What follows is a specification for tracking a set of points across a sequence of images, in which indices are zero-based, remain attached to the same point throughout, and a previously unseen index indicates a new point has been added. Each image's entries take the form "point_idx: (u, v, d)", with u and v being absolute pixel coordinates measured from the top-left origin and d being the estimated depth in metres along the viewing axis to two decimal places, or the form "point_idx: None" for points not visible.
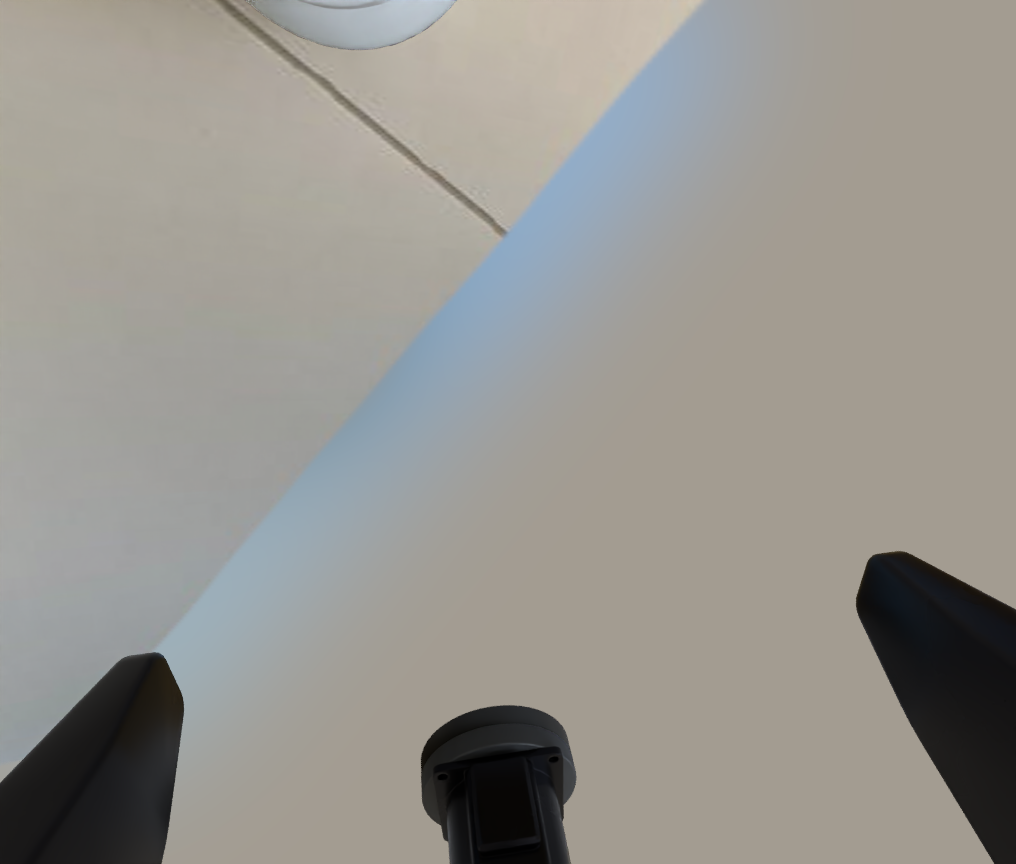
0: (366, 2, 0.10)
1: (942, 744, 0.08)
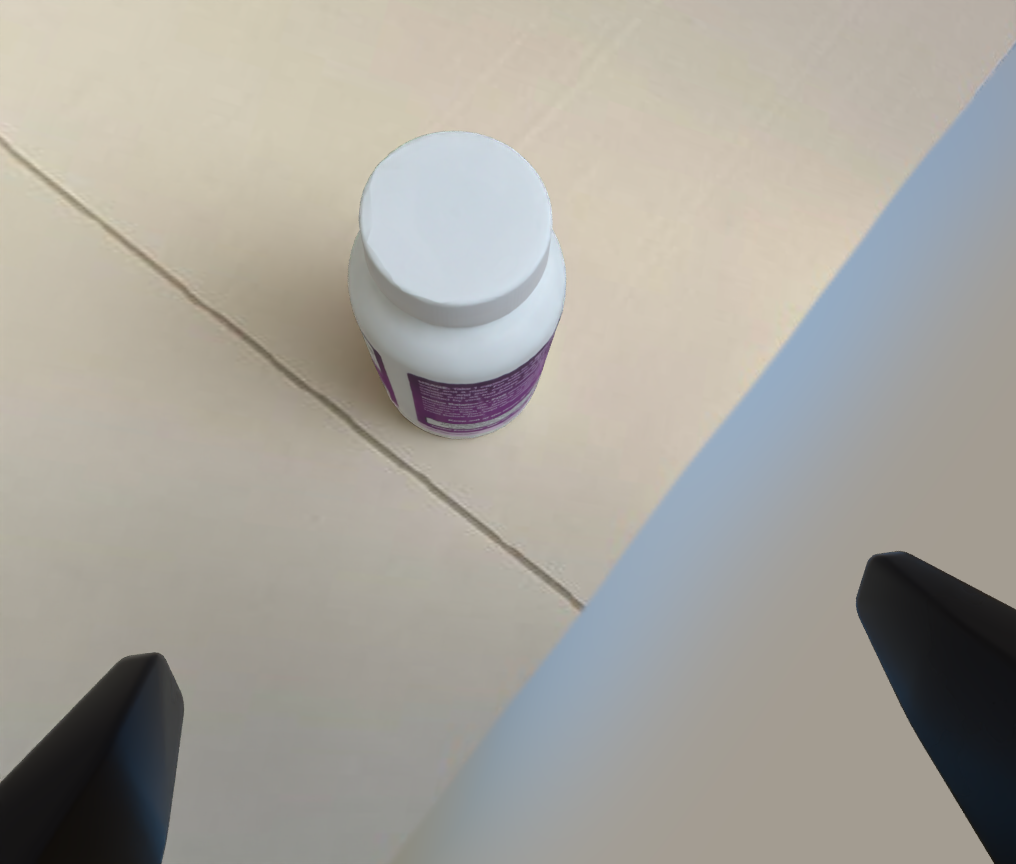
0: (478, 302, 0.14)
1: (942, 744, 0.08)
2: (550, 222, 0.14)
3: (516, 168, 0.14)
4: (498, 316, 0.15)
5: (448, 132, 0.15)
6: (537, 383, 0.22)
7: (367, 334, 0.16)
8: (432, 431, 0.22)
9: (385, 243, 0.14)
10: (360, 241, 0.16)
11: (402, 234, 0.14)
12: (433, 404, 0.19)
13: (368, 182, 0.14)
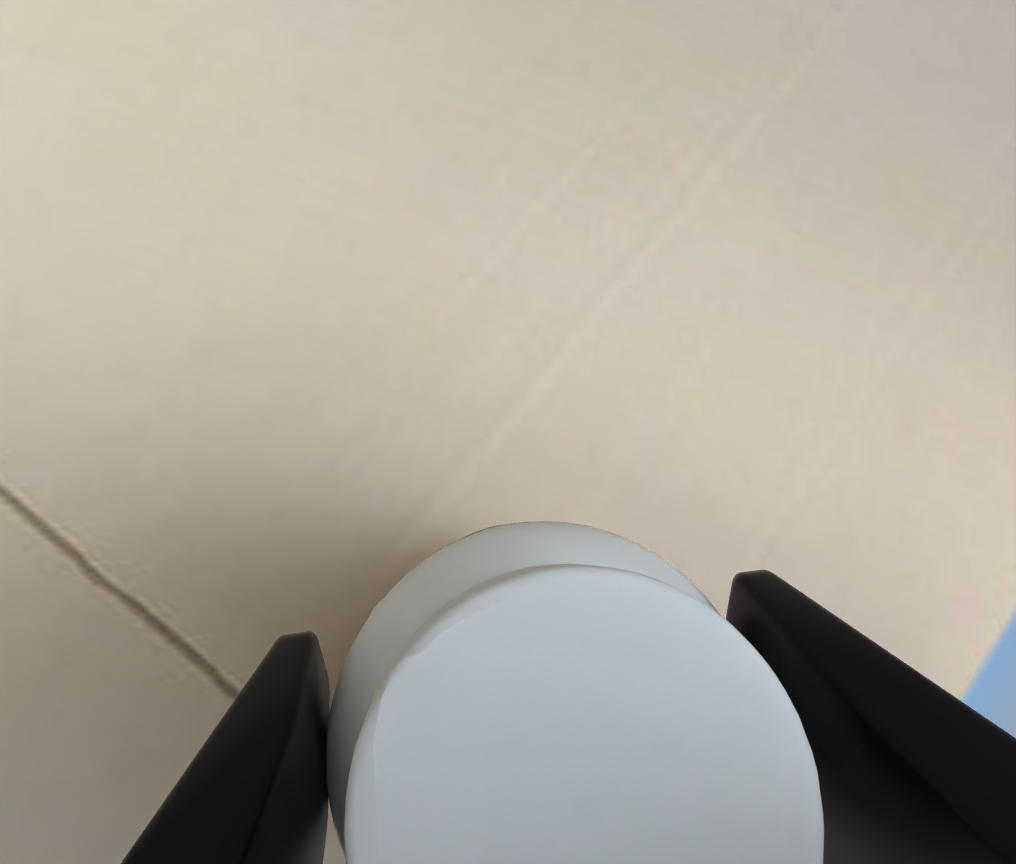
0: None
1: None
2: (822, 827, 0.06)
3: (729, 673, 0.06)
4: None
5: (561, 576, 0.06)
6: None
7: None
8: None
9: None
10: (351, 707, 0.08)
11: None
12: None
13: (368, 726, 0.06)
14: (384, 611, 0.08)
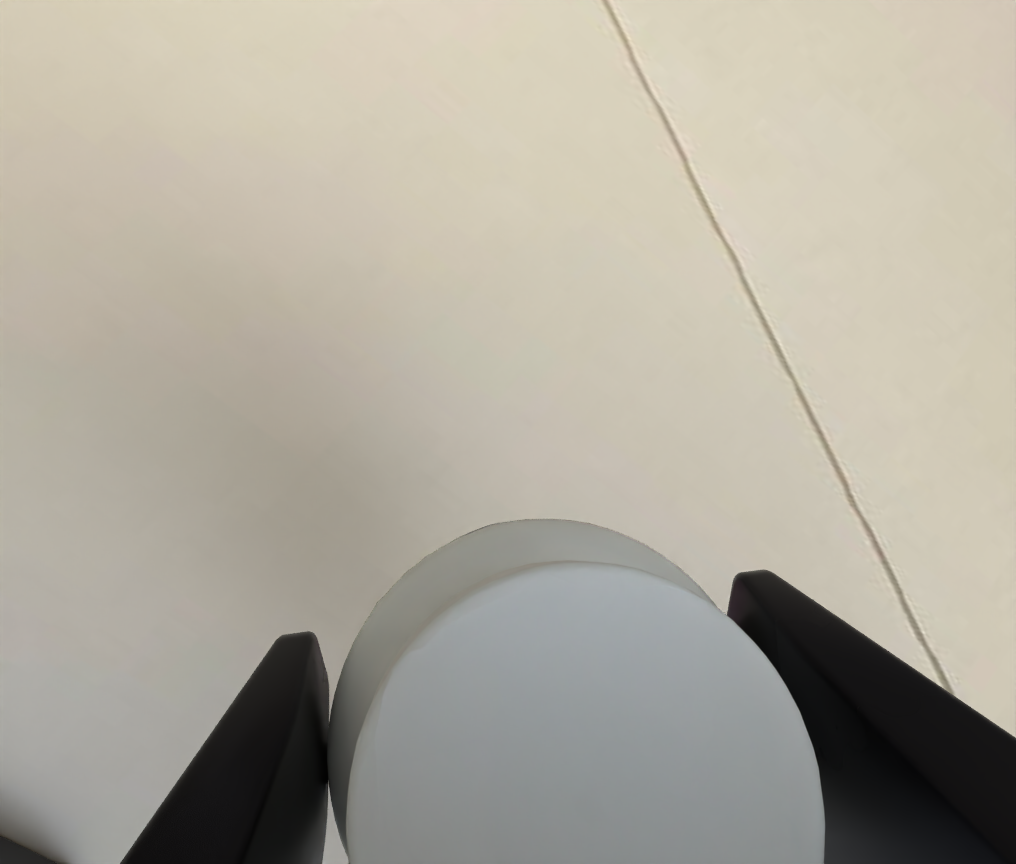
0: None
1: None
2: (823, 822, 0.06)
3: (730, 669, 0.06)
4: None
5: (562, 572, 0.06)
6: None
7: None
8: None
9: None
10: (352, 704, 0.08)
11: None
12: None
13: (370, 721, 0.06)
14: (386, 607, 0.08)
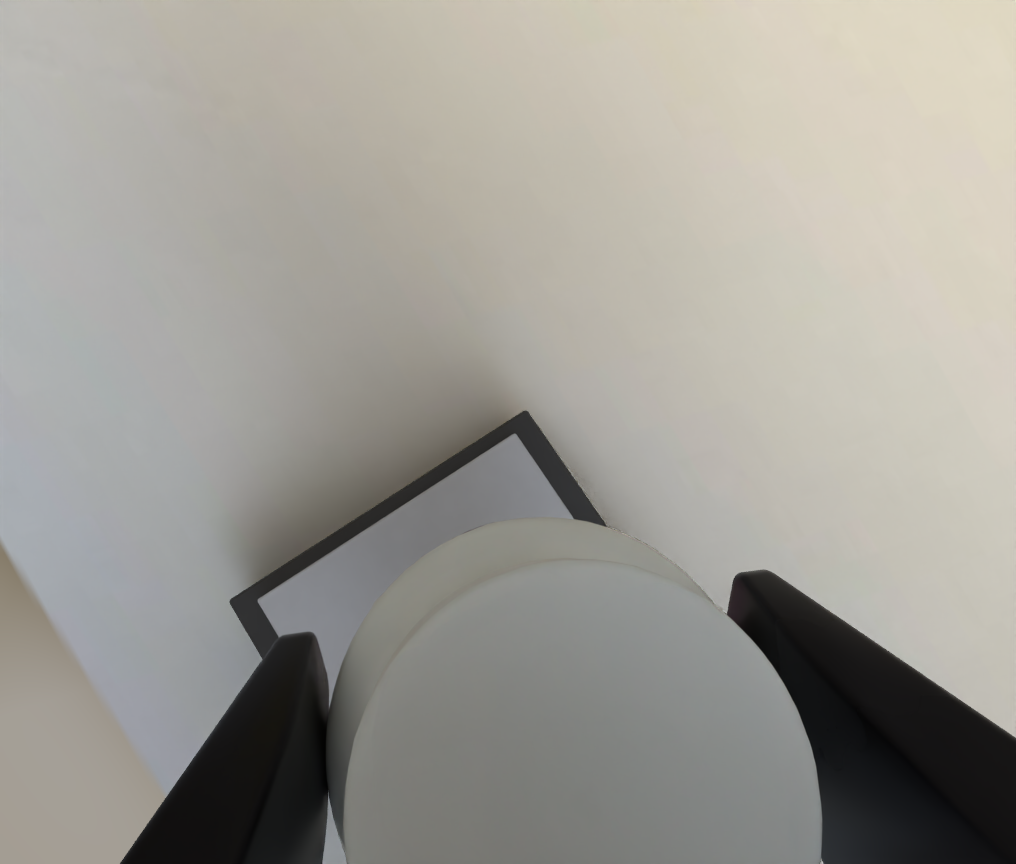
0: None
1: None
2: (820, 819, 0.06)
3: (727, 665, 0.06)
4: None
5: (560, 569, 0.06)
6: None
7: None
8: None
9: None
10: (350, 702, 0.08)
11: None
12: None
13: (367, 719, 0.06)
14: (384, 606, 0.08)
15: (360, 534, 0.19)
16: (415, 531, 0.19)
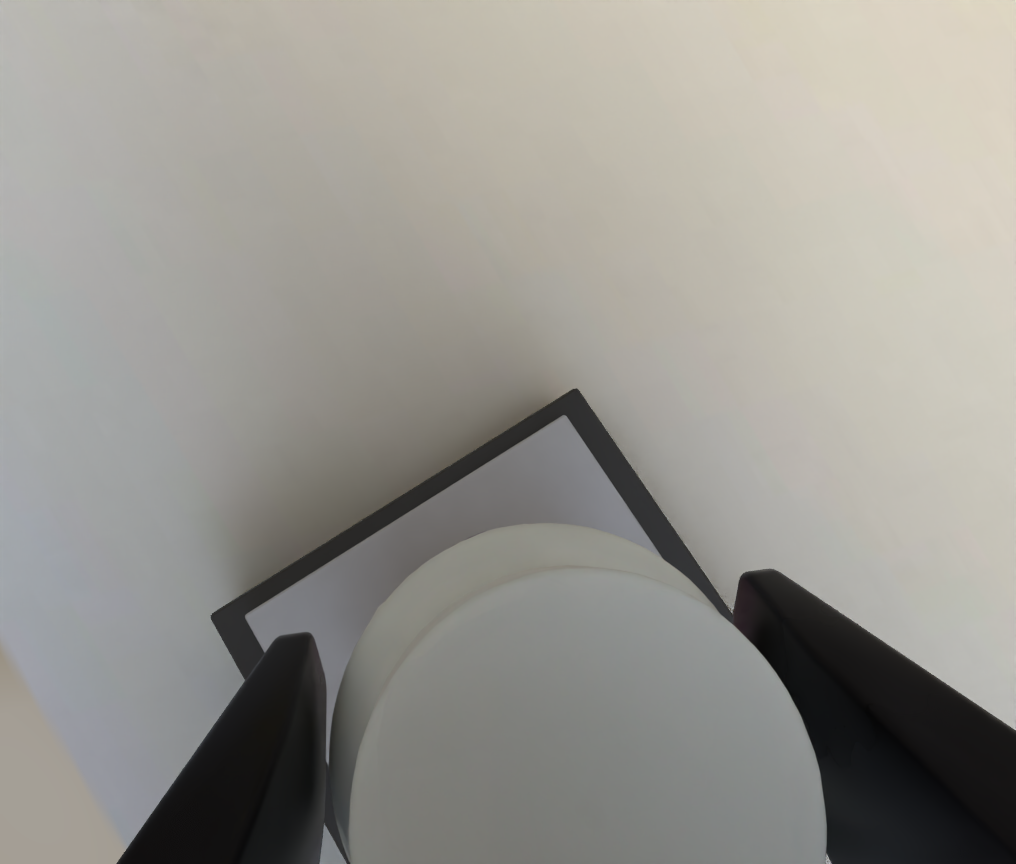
0: None
1: None
2: (825, 826, 0.06)
3: (730, 673, 0.06)
4: None
5: (563, 577, 0.06)
6: None
7: None
8: None
9: None
10: (354, 709, 0.08)
11: None
12: None
13: (372, 729, 0.06)
14: (387, 612, 0.08)
15: (374, 535, 0.15)
16: (442, 533, 0.16)
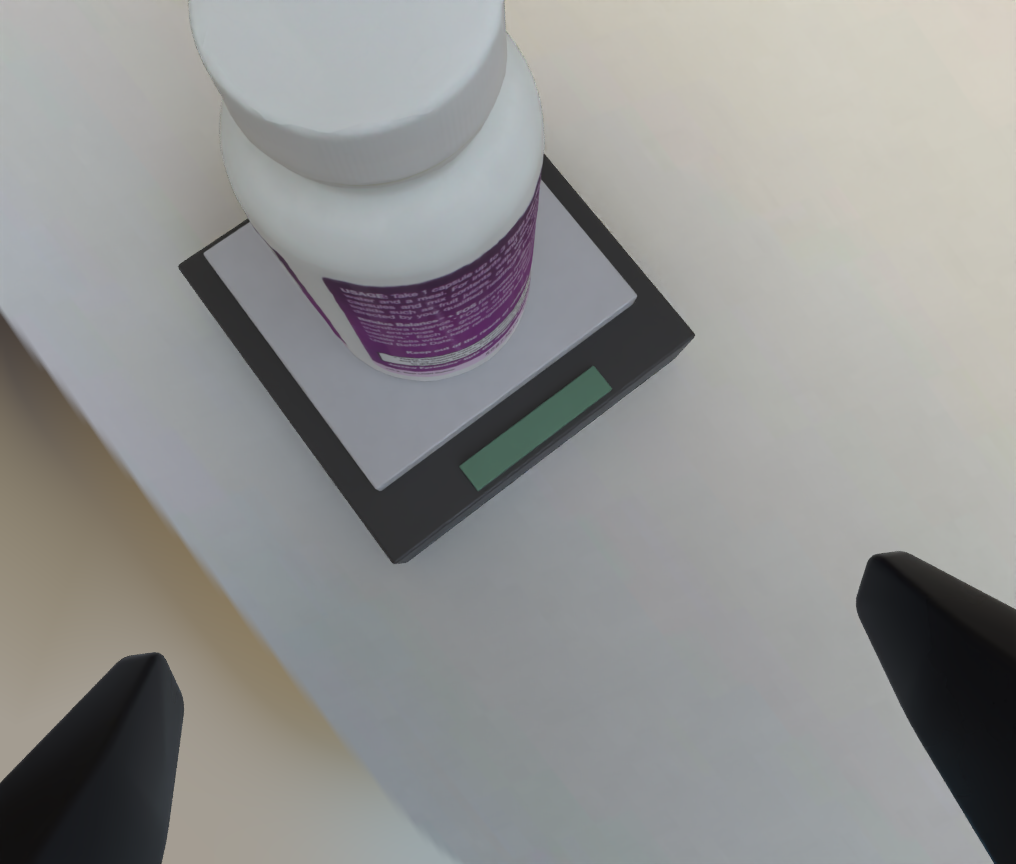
0: (389, 127, 0.08)
1: (942, 744, 0.08)
2: None
3: None
4: (433, 160, 0.09)
5: None
6: (526, 298, 0.17)
7: (255, 224, 0.11)
8: (394, 373, 0.17)
9: (232, 46, 0.09)
10: None
11: (257, 29, 0.09)
12: (377, 328, 0.13)
13: None
14: None
15: None
16: None
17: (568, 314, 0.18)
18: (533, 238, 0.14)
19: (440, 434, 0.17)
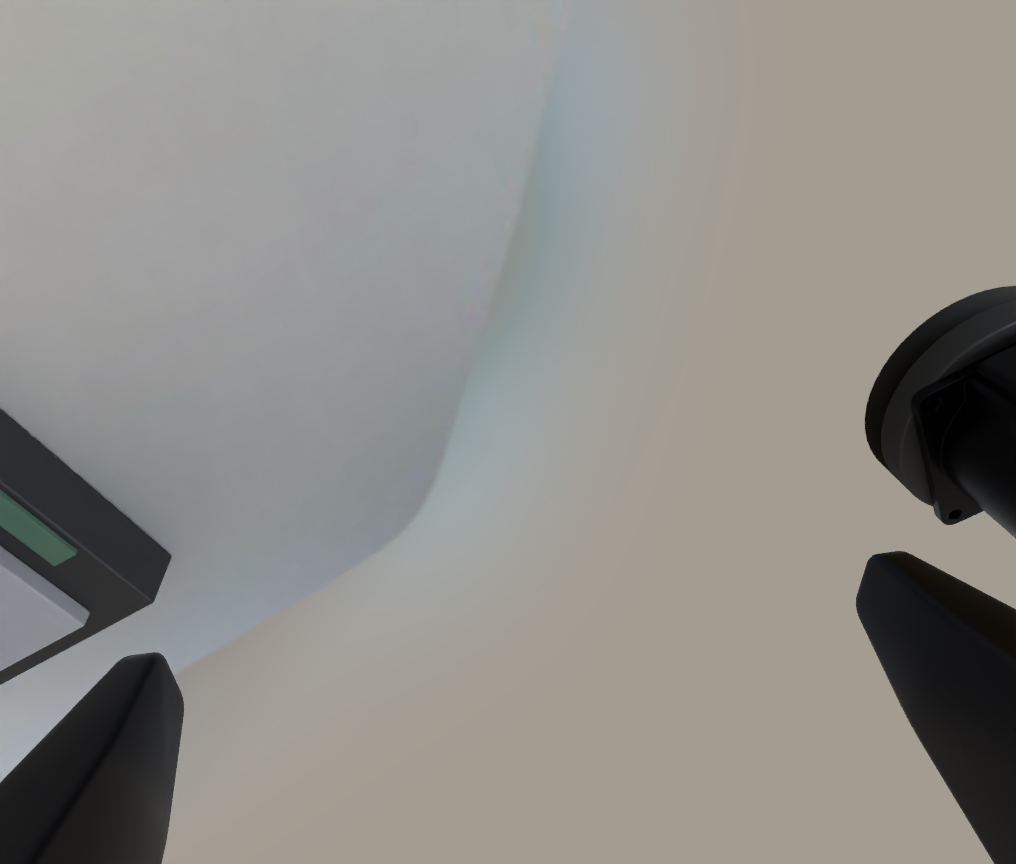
0: None
1: (942, 744, 0.08)
2: None
3: None
4: None
5: None
6: None
7: None
8: None
9: None
10: None
11: None
12: None
13: None
14: None
15: None
16: None
17: None
18: None
19: (23, 586, 0.20)
